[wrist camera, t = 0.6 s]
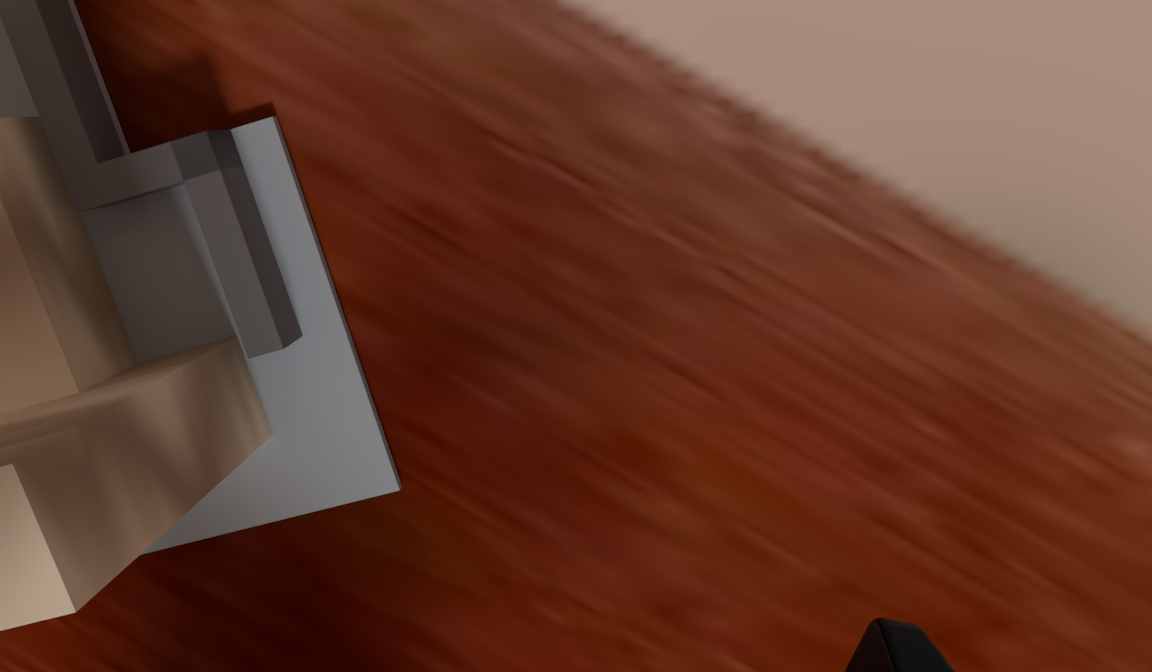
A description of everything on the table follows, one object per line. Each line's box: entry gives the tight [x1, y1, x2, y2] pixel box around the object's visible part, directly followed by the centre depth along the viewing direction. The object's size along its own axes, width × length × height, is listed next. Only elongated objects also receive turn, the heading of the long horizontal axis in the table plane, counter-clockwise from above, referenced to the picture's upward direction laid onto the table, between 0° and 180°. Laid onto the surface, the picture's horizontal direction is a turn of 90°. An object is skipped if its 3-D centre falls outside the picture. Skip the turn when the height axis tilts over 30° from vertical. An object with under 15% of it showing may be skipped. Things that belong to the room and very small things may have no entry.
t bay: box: [0, 0, 402, 555], centre depth 26 cm, size 17×15×2 cm
